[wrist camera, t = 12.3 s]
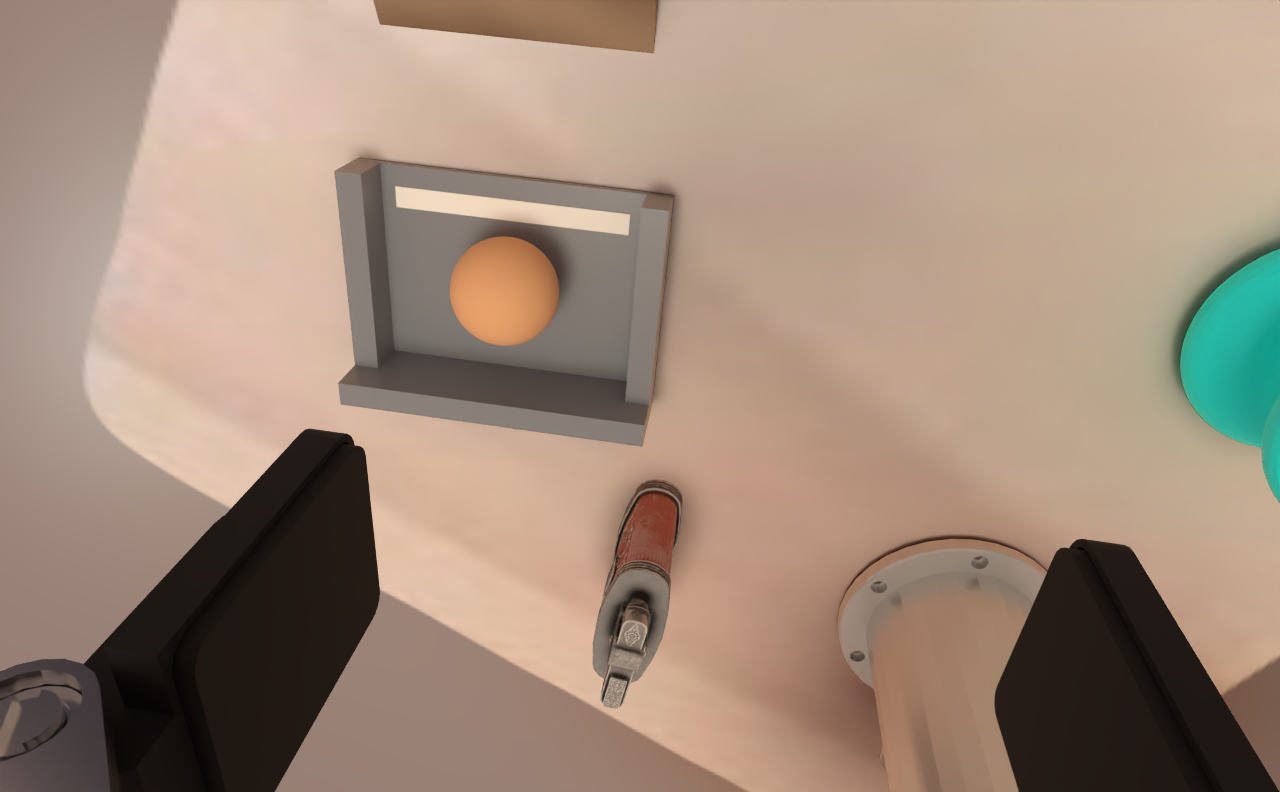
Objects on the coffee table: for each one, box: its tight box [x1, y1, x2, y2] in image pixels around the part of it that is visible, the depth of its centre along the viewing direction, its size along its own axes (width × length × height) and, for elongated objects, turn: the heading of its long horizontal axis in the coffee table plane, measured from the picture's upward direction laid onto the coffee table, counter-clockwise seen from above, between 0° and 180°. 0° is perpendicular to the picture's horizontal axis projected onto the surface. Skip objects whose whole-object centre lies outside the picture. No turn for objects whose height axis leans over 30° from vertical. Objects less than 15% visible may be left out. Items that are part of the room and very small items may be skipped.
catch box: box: [335, 158, 674, 447], centre depth 39 cm, size 11×15×4 cm
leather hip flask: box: [593, 480, 682, 709], centre depth 43 cm, size 8×3×10 cm, turn 167°
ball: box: [450, 236, 559, 346], centre depth 37 cm, size 5×5×5 cm
